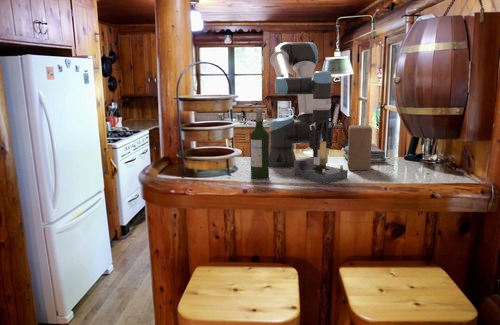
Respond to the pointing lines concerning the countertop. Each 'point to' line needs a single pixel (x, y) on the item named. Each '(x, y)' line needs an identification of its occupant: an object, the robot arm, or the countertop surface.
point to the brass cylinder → (322, 155)
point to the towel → (376, 154)
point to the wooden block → (359, 147)
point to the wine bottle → (259, 149)
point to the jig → (318, 171)
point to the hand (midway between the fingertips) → (320, 163)
